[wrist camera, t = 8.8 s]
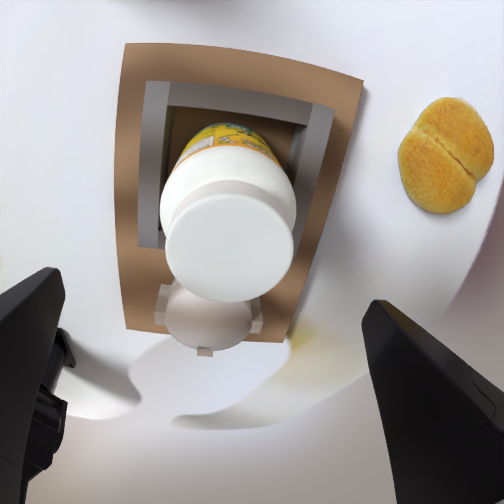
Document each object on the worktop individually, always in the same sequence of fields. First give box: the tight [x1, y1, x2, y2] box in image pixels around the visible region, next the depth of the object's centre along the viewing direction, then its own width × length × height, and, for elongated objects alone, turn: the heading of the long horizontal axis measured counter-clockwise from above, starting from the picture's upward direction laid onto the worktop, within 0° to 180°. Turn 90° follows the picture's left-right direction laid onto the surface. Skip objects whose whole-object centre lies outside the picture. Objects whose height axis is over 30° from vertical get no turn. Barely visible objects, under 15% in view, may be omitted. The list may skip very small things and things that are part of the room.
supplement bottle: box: [160, 123, 296, 303], centre depth 13 cm, size 5×5×10 cm
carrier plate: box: [114, 43, 364, 357], centre depth 18 cm, size 22×14×4 cm, turn 170°
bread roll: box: [398, 97, 494, 214], centre depth 17 cm, size 8×9×4 cm
